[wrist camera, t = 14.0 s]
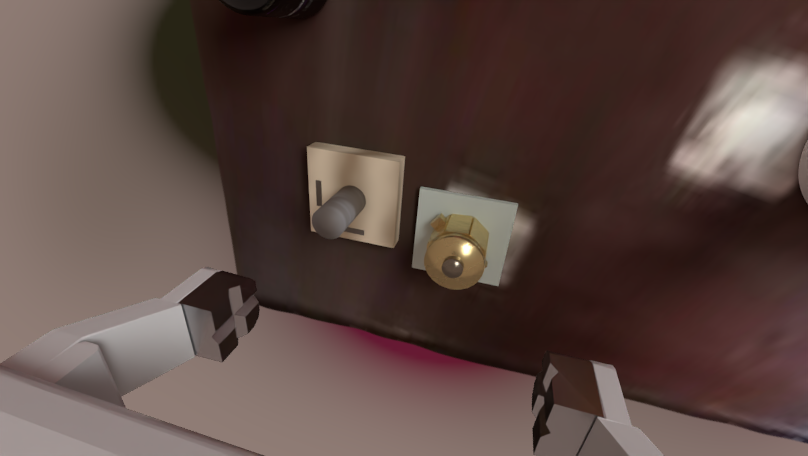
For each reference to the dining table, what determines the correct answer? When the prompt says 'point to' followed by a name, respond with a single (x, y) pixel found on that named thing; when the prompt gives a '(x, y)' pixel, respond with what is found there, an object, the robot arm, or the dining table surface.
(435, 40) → the dining table surface
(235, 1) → the supplement bottle
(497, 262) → the coaster
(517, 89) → the dining table surface
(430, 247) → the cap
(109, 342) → the robot arm
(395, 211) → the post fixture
